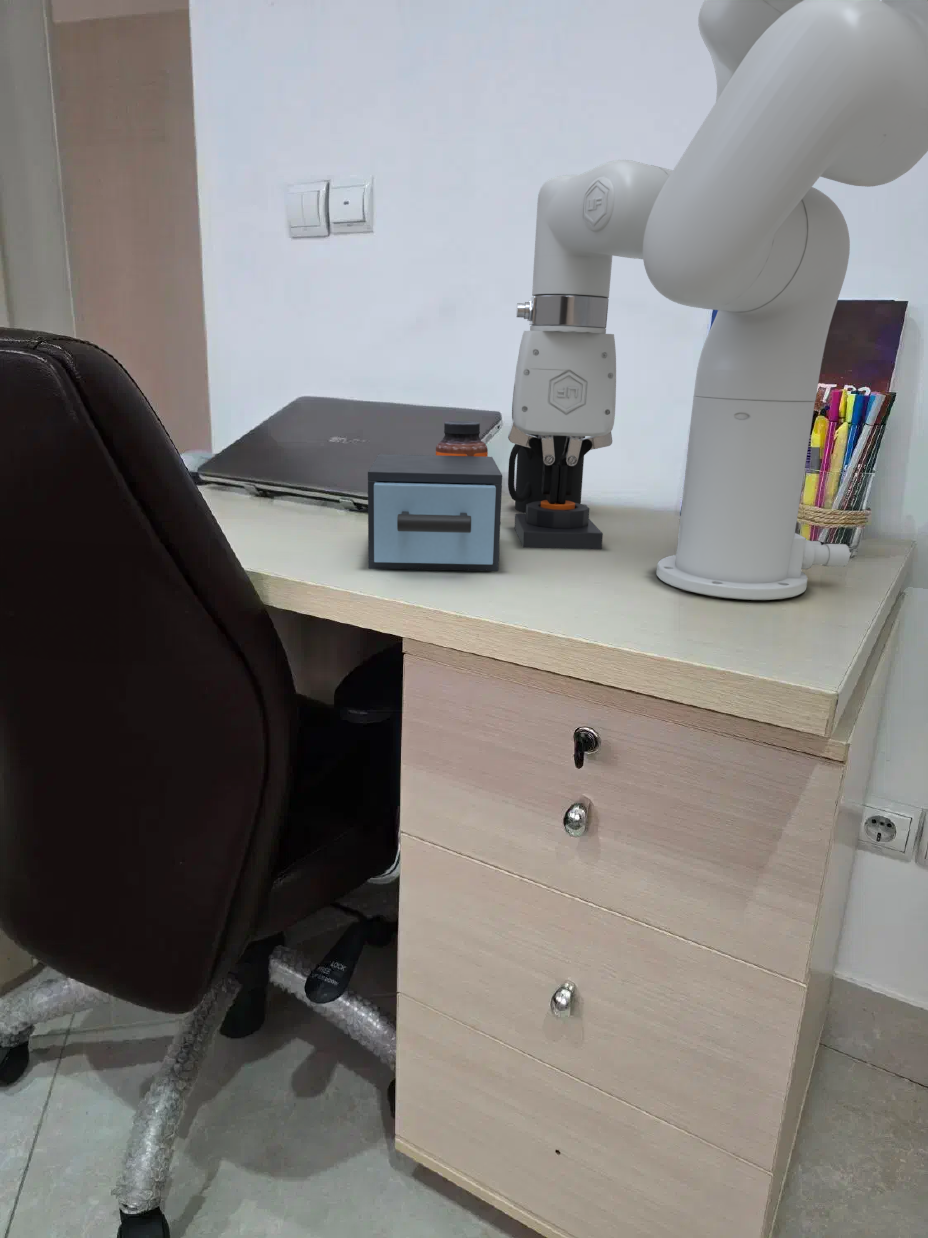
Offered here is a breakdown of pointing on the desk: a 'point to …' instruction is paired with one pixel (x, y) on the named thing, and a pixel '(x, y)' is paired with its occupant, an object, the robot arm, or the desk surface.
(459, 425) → the supplement bottle
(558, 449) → the mug
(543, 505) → the release button
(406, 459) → the drawer cabinet
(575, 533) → the panel
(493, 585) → the desk surface
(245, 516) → the desk surface
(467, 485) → the light blue drawer
